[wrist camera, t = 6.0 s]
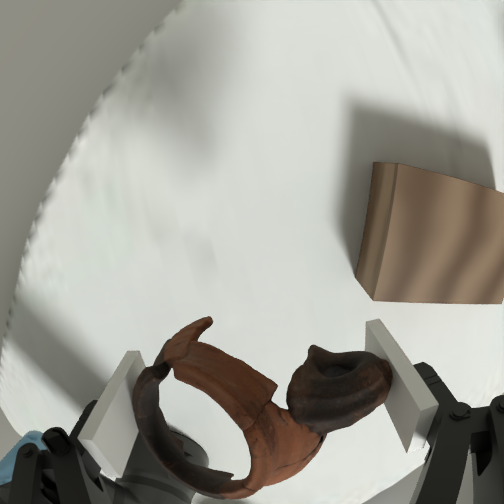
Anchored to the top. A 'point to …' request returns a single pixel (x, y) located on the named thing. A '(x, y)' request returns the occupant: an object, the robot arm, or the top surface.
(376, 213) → the walnut box
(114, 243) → the top surface
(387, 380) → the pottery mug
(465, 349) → the top surface
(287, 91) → the top surface
